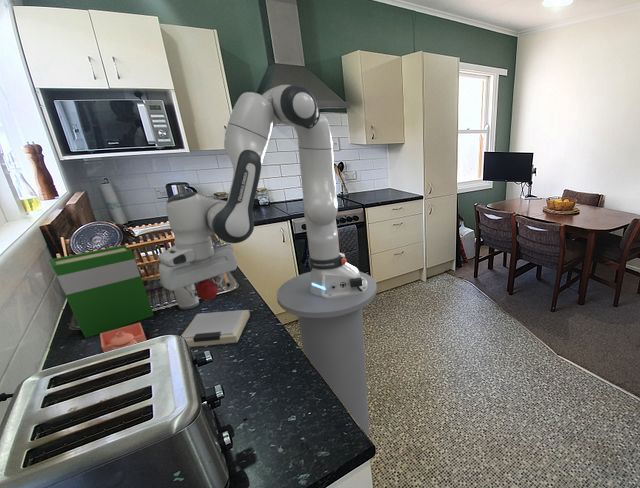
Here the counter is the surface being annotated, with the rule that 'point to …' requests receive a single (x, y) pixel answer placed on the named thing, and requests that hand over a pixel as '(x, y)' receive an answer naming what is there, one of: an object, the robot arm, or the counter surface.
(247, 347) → the counter surface
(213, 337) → the scale
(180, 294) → the travel mug
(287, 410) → the counter surface
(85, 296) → the green box
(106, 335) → the red box
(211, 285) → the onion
